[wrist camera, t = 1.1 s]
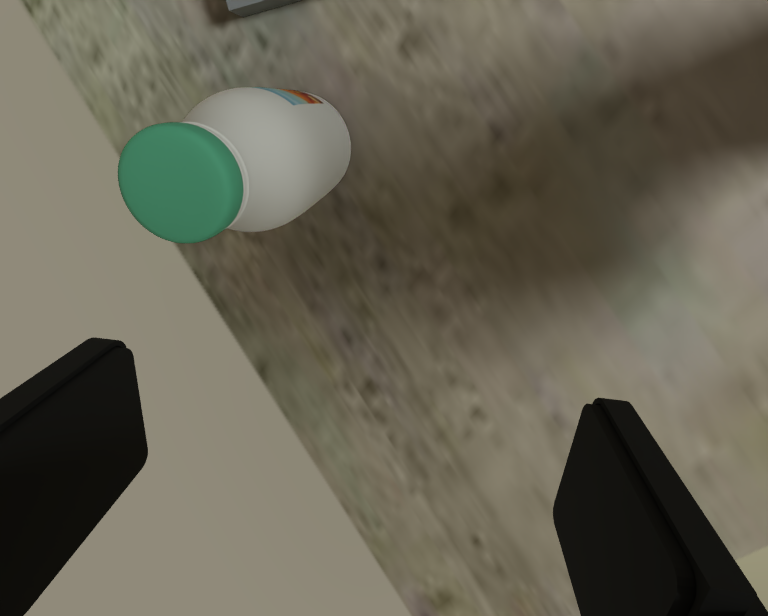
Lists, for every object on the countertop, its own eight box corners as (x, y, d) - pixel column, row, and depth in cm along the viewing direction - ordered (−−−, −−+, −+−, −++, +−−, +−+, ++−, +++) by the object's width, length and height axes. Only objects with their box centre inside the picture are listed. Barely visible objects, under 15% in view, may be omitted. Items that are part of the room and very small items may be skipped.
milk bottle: (368, 120, 35) (299, 136, 17) (330, 213, 38) (235, 312, 20) (273, 72, 34) (92, 34, 16) (241, 170, 37) (58, 232, 19)
